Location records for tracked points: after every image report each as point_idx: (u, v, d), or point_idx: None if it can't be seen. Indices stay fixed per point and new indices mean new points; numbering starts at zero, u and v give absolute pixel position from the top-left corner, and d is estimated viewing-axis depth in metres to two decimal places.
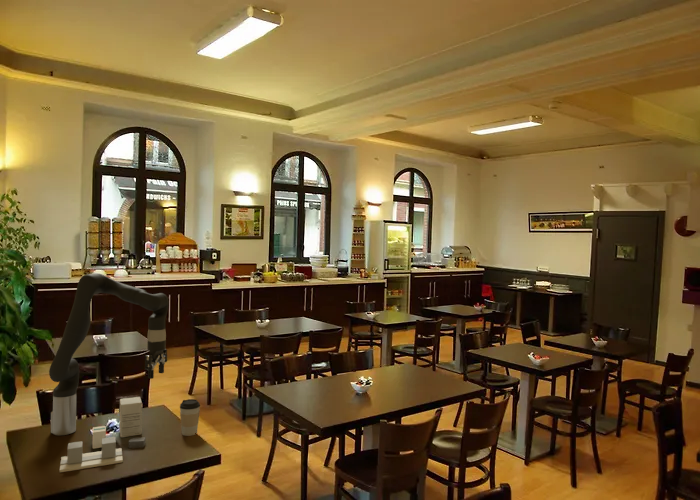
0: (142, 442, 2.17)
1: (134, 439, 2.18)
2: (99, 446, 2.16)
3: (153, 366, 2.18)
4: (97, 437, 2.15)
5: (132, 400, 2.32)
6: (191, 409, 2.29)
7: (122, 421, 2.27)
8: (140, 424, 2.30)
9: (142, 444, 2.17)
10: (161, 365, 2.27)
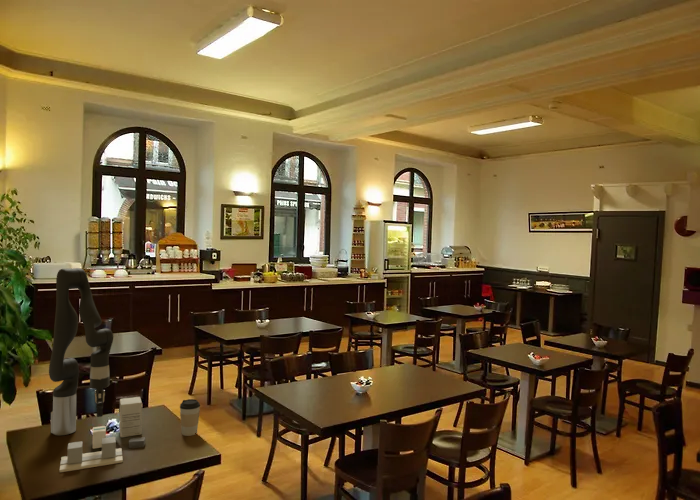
0: (142, 442, 2.17)
1: (134, 439, 2.18)
2: (99, 446, 2.16)
3: (102, 403, 2.14)
4: (97, 437, 2.15)
5: (132, 400, 2.32)
6: (191, 409, 2.29)
7: (122, 421, 2.27)
8: (140, 424, 2.30)
9: (142, 444, 2.17)
10: (100, 402, 2.21)
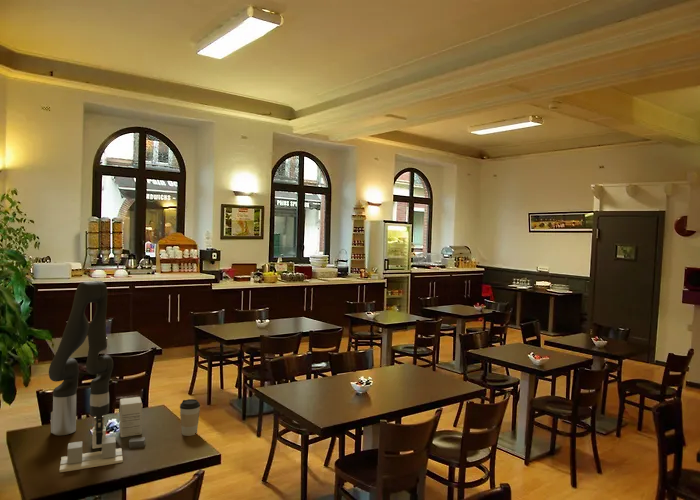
0: (142, 442, 2.17)
1: (134, 439, 2.18)
2: (99, 446, 2.16)
3: None
4: None
5: (132, 400, 2.32)
6: (191, 409, 2.29)
7: (122, 421, 2.27)
8: (140, 424, 2.30)
9: (142, 444, 2.17)
10: None
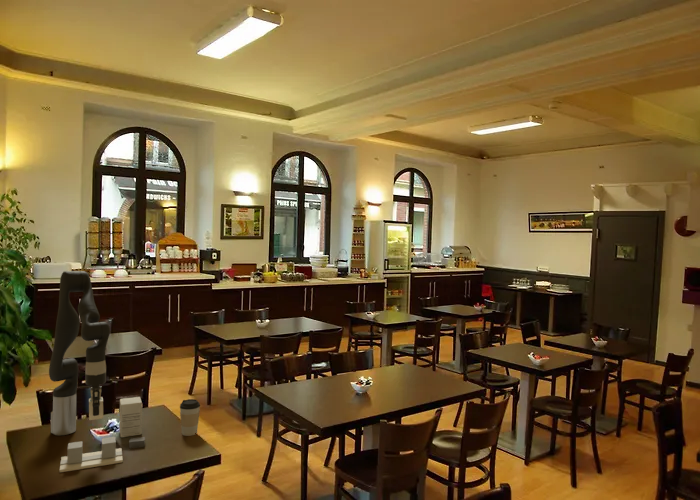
0: (143, 442, 2.17)
1: (134, 439, 2.18)
2: (96, 417, 2.03)
3: None
4: None
5: (132, 400, 2.32)
6: (191, 409, 2.29)
7: (122, 421, 2.27)
8: (140, 424, 2.30)
9: (143, 444, 2.18)
10: None
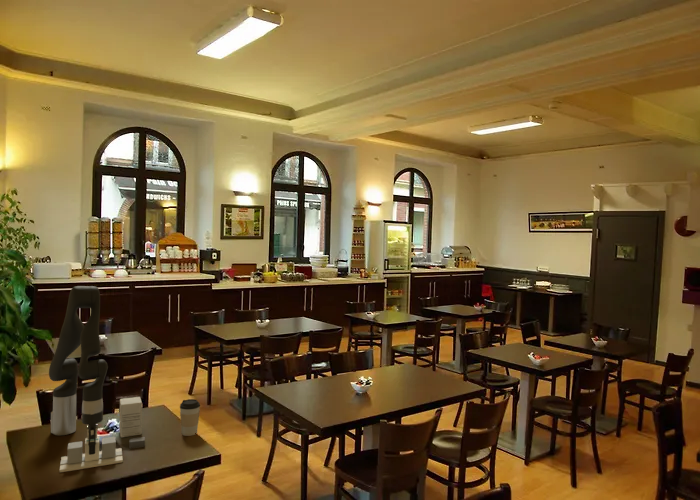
0: (143, 441, 2.18)
1: (134, 439, 2.18)
2: (92, 458, 2.01)
3: None
4: None
5: (132, 400, 2.32)
6: (191, 409, 2.29)
7: (122, 421, 2.27)
8: (140, 424, 2.30)
9: (143, 443, 2.18)
10: None
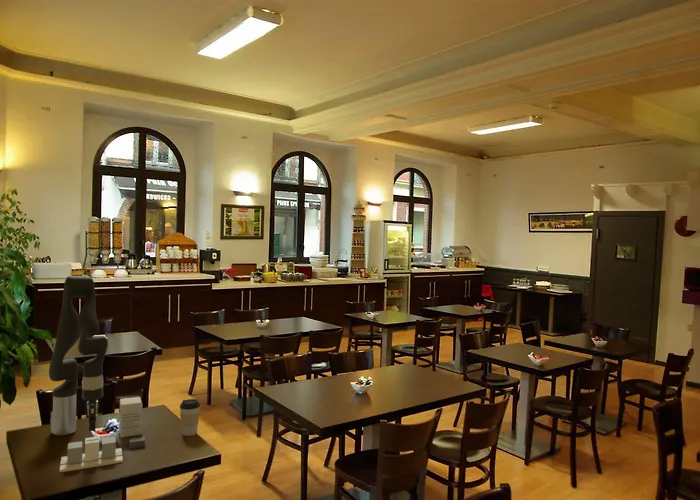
0: (143, 441, 2.18)
1: (134, 439, 2.18)
2: (92, 458, 2.01)
3: None
4: (90, 449, 2.00)
5: (132, 400, 2.32)
6: (191, 409, 2.29)
7: (122, 421, 2.27)
8: (140, 424, 2.30)
9: (143, 443, 2.18)
10: (93, 418, 2.05)
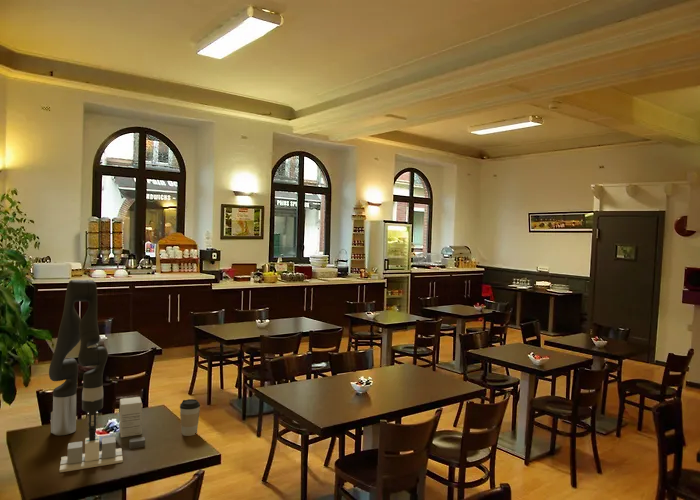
0: (143, 441, 2.18)
1: (134, 439, 2.18)
2: (92, 458, 2.01)
3: None
4: (90, 449, 2.00)
5: (132, 400, 2.32)
6: (191, 409, 2.29)
7: (122, 421, 2.27)
8: (140, 424, 2.30)
9: (143, 443, 2.18)
10: None
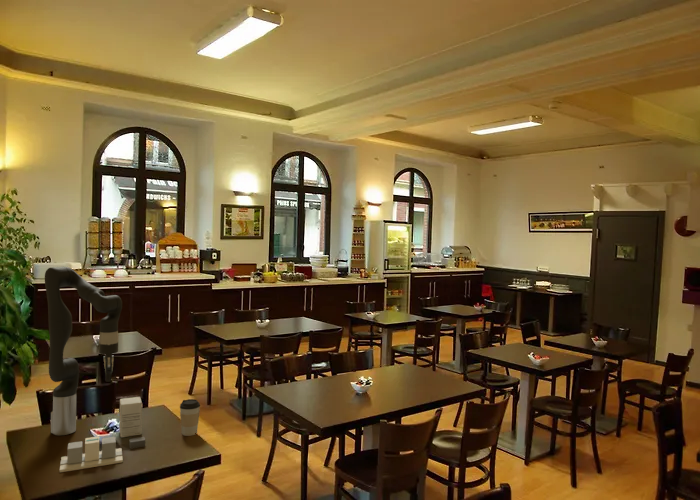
0: (144, 441, 2.18)
1: (134, 439, 2.18)
2: (92, 458, 2.01)
3: None
4: (90, 449, 2.00)
5: (132, 400, 2.32)
6: (191, 409, 2.29)
7: (122, 421, 2.27)
8: (140, 424, 2.30)
9: (144, 443, 2.18)
10: None
